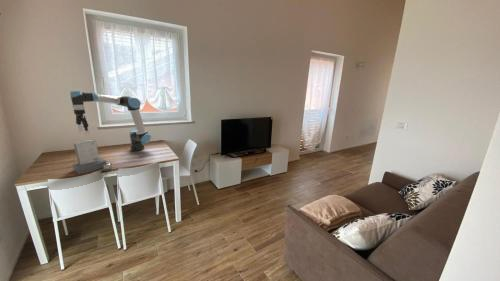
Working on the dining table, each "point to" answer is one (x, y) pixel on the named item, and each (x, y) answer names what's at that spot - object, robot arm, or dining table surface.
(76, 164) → the stand
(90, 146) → the hard drive box
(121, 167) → the dining table surface
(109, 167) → the metal tin
